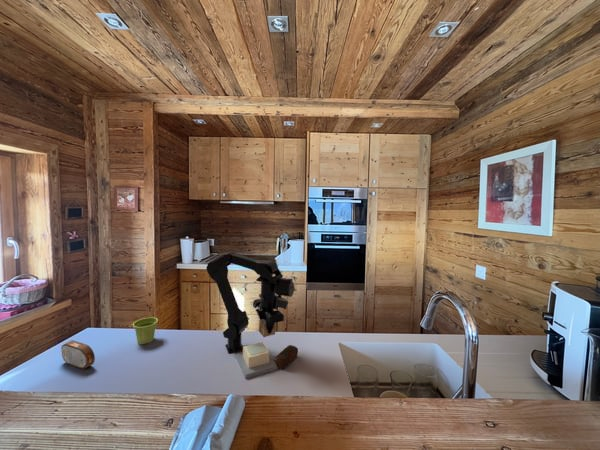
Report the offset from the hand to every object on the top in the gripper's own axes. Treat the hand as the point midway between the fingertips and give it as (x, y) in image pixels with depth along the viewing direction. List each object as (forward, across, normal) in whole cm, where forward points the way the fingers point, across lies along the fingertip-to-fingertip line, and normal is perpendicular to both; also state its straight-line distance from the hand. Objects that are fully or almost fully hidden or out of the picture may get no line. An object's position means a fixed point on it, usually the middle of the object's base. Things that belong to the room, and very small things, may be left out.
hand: (267, 330), depth 100 cm
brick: (+11, -7, -6) cm, 14 cm away
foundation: (+11, -2, +5) cm, 12 cm away
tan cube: (+1, 0, 0) cm, 1 cm away
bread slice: (+12, +27, +64) cm, 71 cm away
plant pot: (+12, +35, +43) cm, 57 cm away
